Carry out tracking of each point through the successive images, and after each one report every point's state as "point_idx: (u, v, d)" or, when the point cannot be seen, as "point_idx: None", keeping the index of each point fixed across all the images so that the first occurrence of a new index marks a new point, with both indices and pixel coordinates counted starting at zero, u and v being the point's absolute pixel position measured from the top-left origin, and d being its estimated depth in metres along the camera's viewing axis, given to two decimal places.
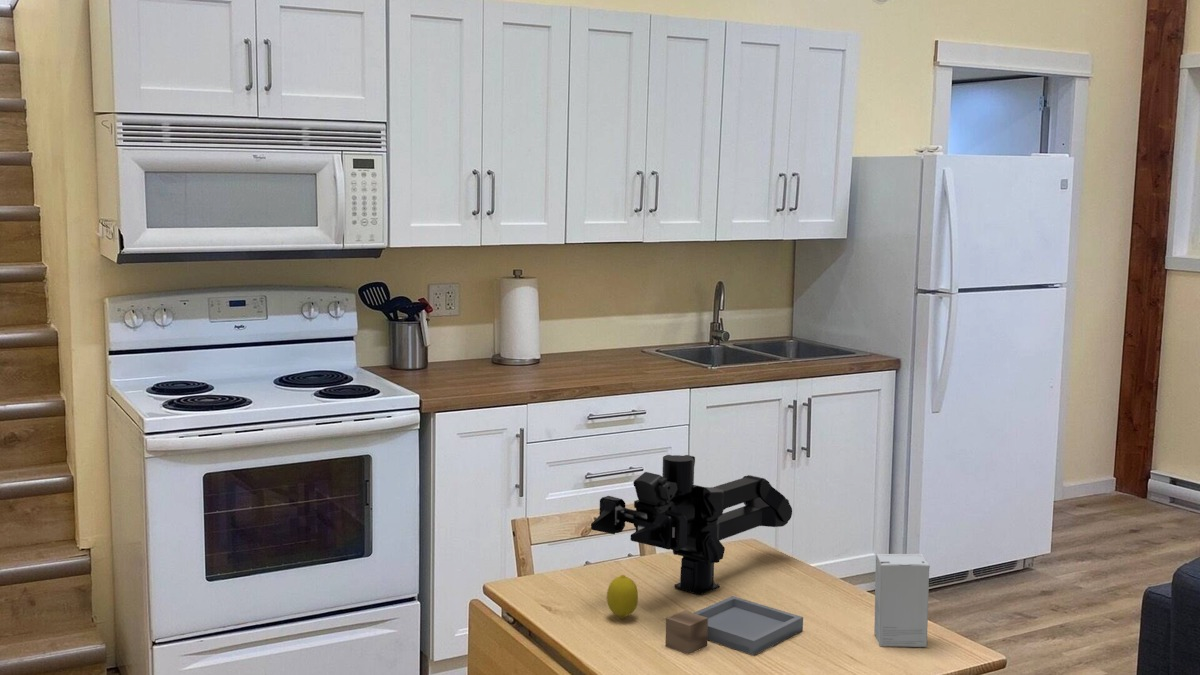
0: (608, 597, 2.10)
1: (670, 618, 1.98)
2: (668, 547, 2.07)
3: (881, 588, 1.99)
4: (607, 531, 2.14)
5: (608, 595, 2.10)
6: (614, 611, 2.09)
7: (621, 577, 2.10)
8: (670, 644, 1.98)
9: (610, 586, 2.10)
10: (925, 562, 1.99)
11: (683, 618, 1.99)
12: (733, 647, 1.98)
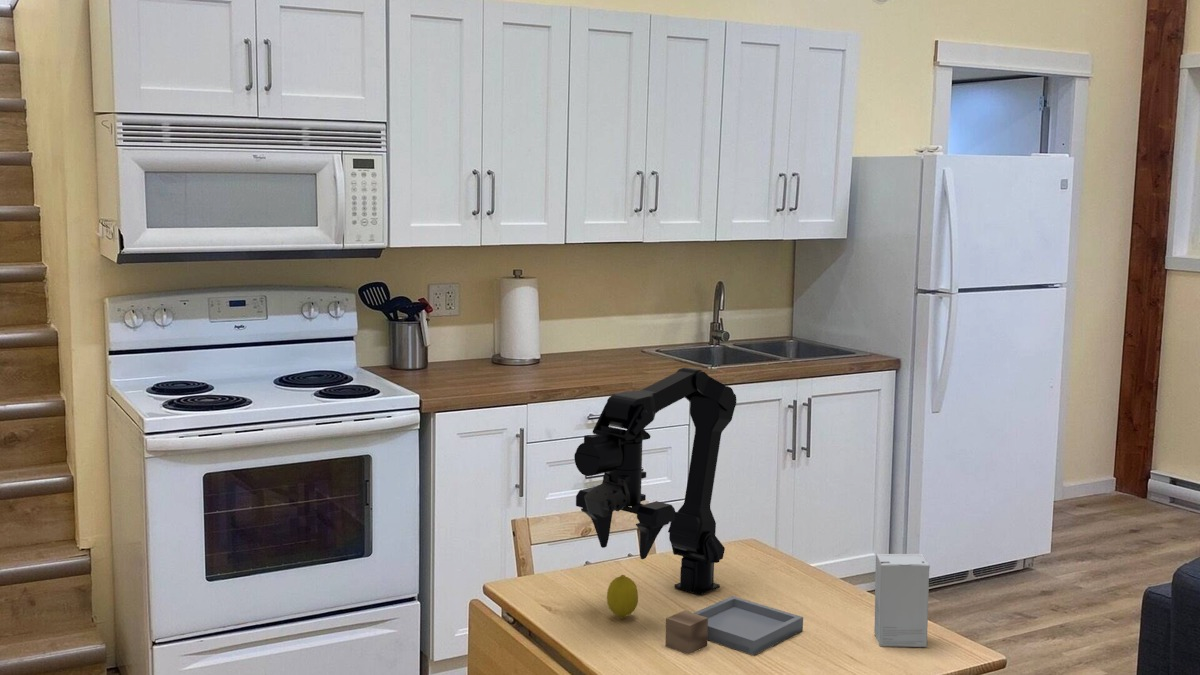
0: (608, 597, 2.10)
1: (670, 618, 1.98)
2: (667, 523, 2.06)
3: (881, 588, 1.99)
4: (610, 520, 2.14)
5: (608, 595, 2.10)
6: (614, 611, 2.09)
7: (621, 577, 2.10)
8: (670, 644, 1.98)
9: (610, 586, 2.10)
10: (925, 562, 1.99)
11: (683, 618, 1.99)
12: (733, 647, 1.98)
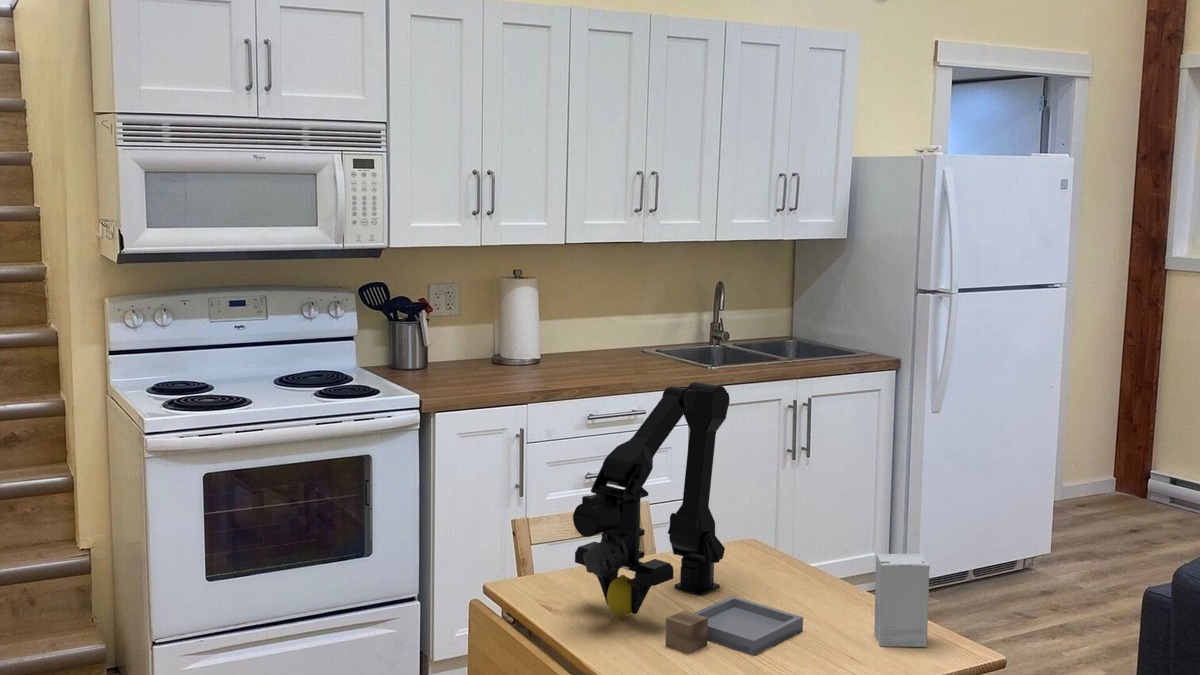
0: (608, 597, 2.10)
1: (670, 618, 1.98)
2: None
3: (881, 588, 1.99)
4: None
5: (608, 595, 2.10)
6: (614, 611, 2.09)
7: (621, 577, 2.10)
8: (670, 644, 1.98)
9: (610, 586, 2.10)
10: (925, 562, 1.99)
11: (683, 618, 1.99)
12: (733, 647, 1.98)
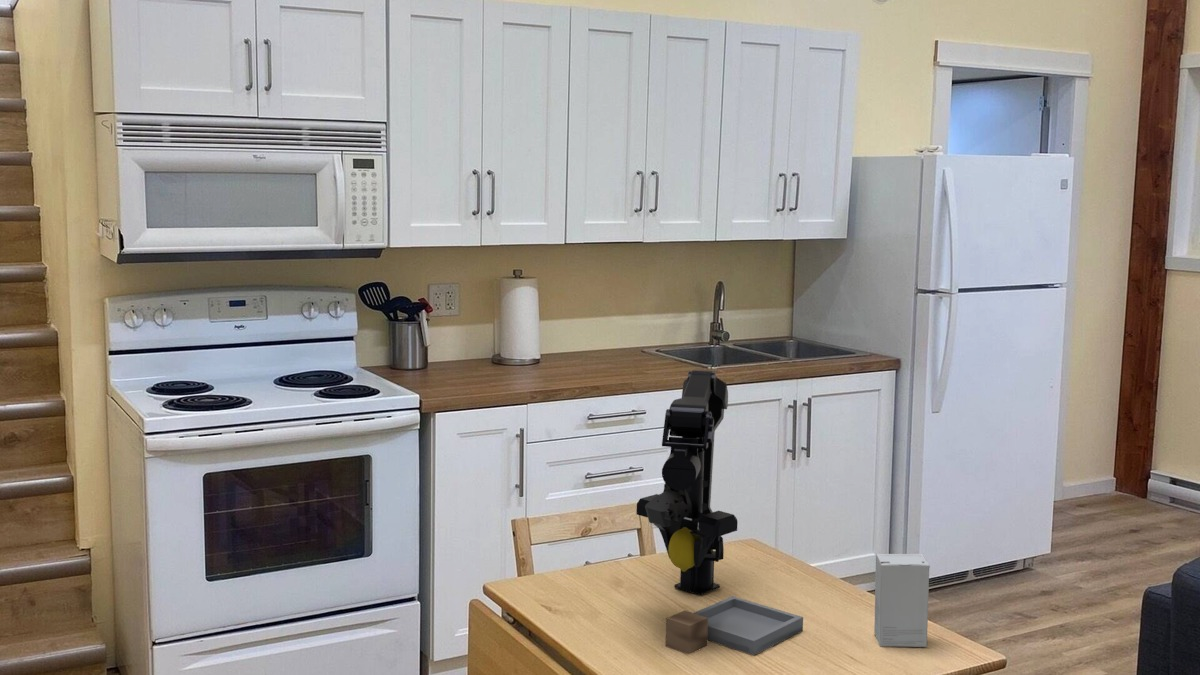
0: (669, 549, 2.06)
1: (670, 618, 1.98)
2: None
3: (881, 588, 1.99)
4: None
5: (670, 547, 2.06)
6: (676, 564, 2.05)
7: (683, 529, 2.06)
8: (670, 644, 1.98)
9: (672, 538, 2.06)
10: (925, 562, 1.99)
11: (683, 618, 1.99)
12: (733, 647, 1.98)
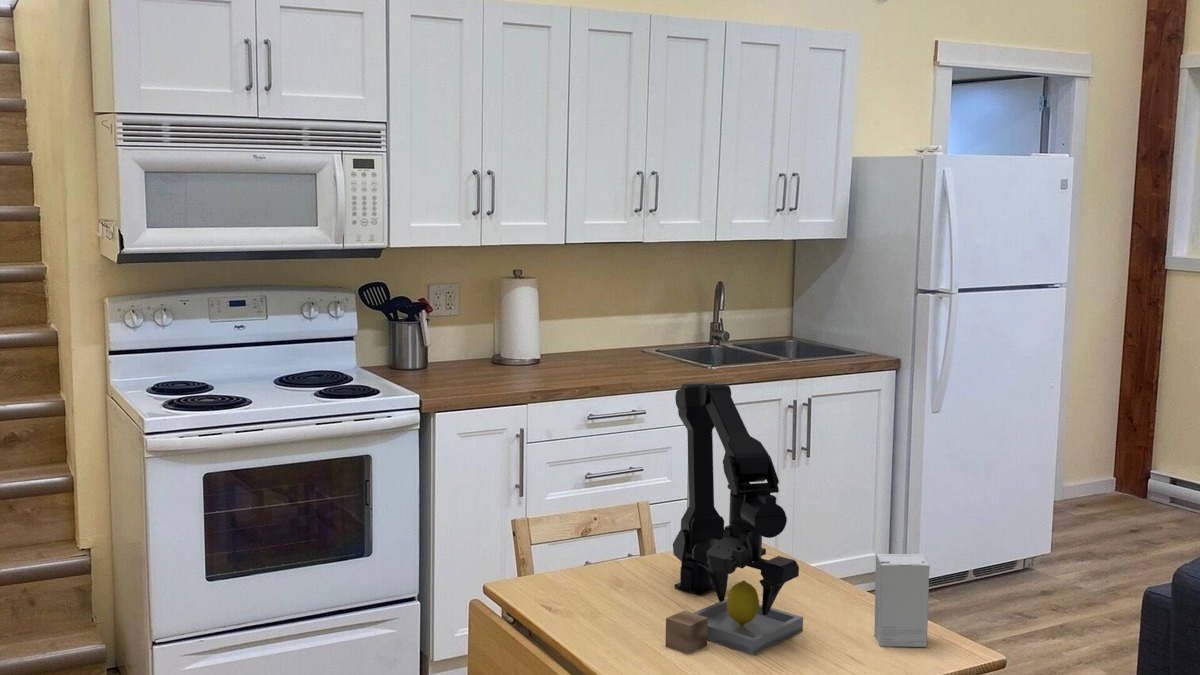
0: (728, 603, 2.05)
1: (670, 618, 1.98)
2: None
3: (881, 588, 1.99)
4: (727, 573, 2.10)
5: (729, 601, 2.05)
6: (735, 618, 2.04)
7: (742, 583, 2.05)
8: (670, 644, 1.98)
9: (731, 592, 2.05)
10: (925, 562, 1.99)
11: (683, 618, 1.99)
12: (733, 647, 1.98)
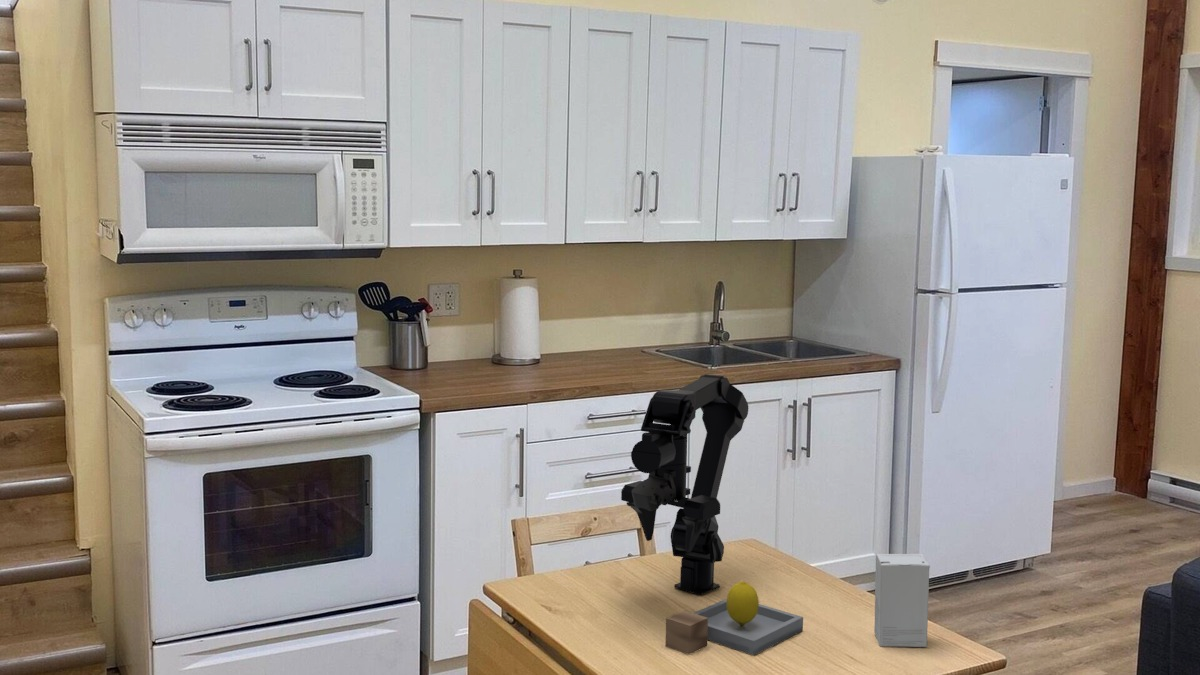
0: (728, 603, 2.05)
1: (670, 618, 1.98)
2: (712, 516, 2.10)
3: (881, 588, 1.99)
4: (655, 514, 2.18)
5: (728, 602, 2.05)
6: (735, 618, 2.04)
7: (742, 583, 2.05)
8: (670, 644, 1.98)
9: (730, 592, 2.05)
10: (925, 562, 1.99)
11: (683, 618, 1.99)
12: (733, 647, 1.98)
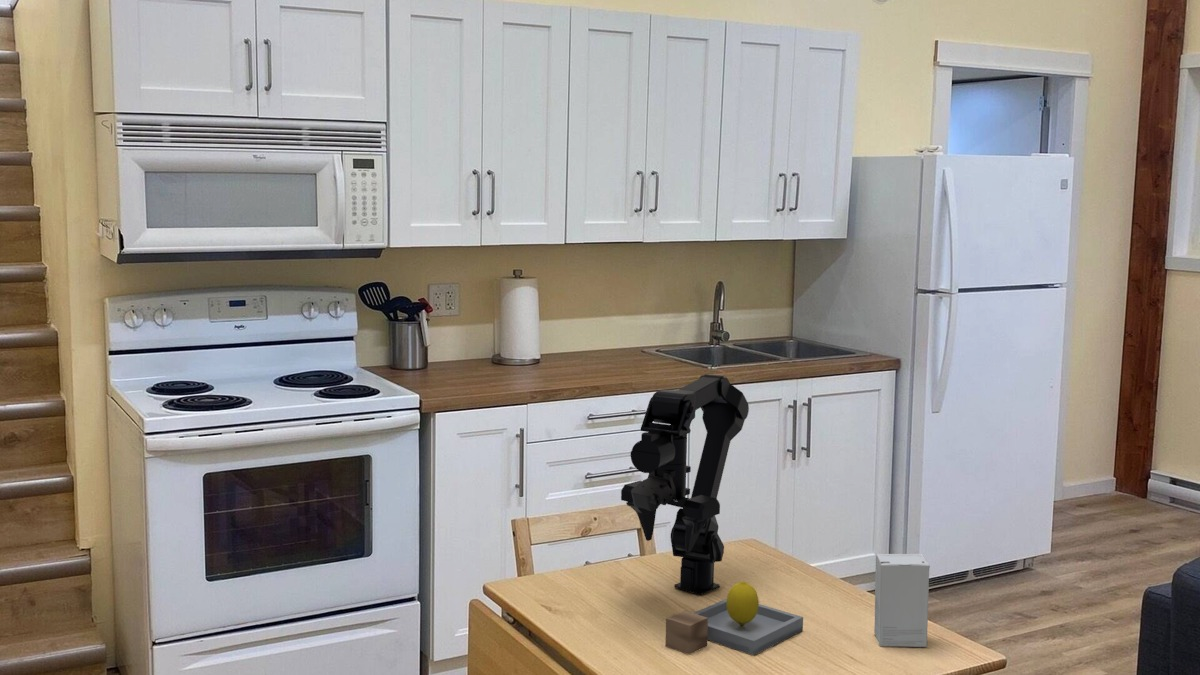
0: (728, 603, 2.05)
1: (670, 618, 1.98)
2: (711, 516, 2.10)
3: (881, 588, 1.99)
4: (654, 514, 2.18)
5: (728, 602, 2.05)
6: (735, 618, 2.04)
7: (742, 583, 2.05)
8: (670, 644, 1.98)
9: (730, 592, 2.05)
10: (925, 562, 1.99)
11: (683, 618, 1.99)
12: (733, 647, 1.98)
